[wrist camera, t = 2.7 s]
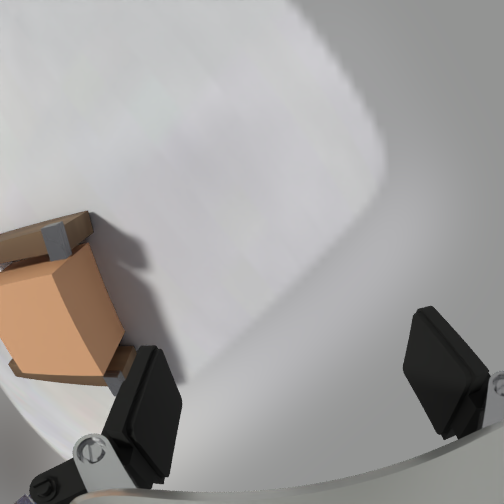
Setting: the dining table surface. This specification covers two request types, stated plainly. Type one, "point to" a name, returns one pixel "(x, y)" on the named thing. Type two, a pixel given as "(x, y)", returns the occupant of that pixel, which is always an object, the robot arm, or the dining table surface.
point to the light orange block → (58, 315)
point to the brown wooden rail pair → (58, 248)
